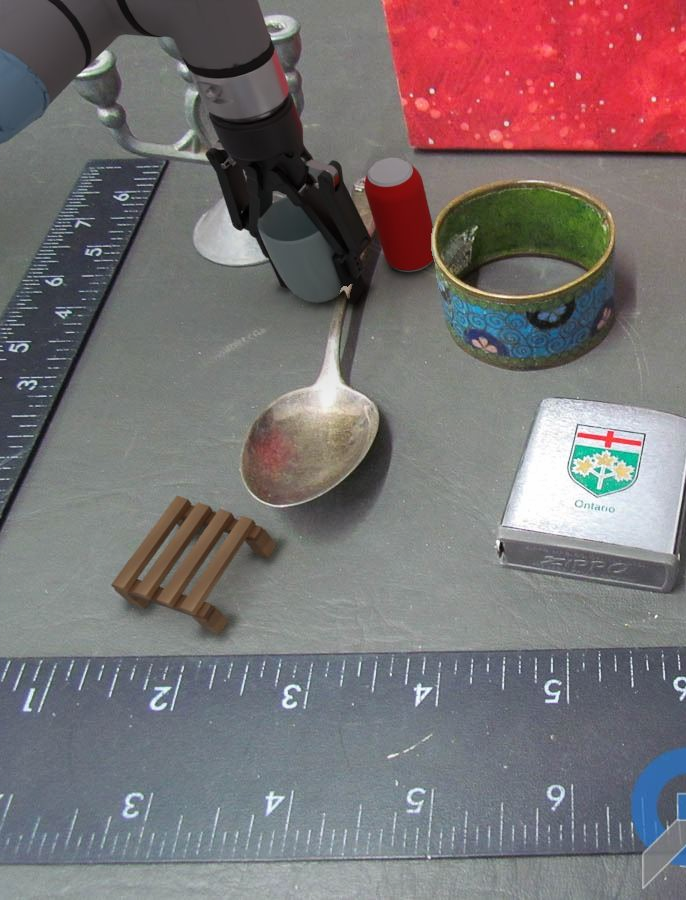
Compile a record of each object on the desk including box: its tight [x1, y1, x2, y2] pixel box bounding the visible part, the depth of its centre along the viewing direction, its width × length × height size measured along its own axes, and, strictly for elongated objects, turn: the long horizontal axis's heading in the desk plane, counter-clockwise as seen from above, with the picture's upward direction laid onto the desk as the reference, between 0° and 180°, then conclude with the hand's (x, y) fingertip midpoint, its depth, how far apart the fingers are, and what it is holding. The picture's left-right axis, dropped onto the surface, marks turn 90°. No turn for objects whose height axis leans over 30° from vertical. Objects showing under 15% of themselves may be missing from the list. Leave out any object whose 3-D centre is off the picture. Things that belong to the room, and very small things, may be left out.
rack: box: [110, 495, 277, 636], centre depth 71 cm, size 9×9×4 cm
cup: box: [257, 195, 342, 304], centre depth 89 cm, size 8×8×10 cm
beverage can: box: [363, 157, 434, 273], centre depth 91 cm, size 6×6×12 cm
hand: (323, 286), depth 93 cm, fingers closed on cup, 8 cm apart
